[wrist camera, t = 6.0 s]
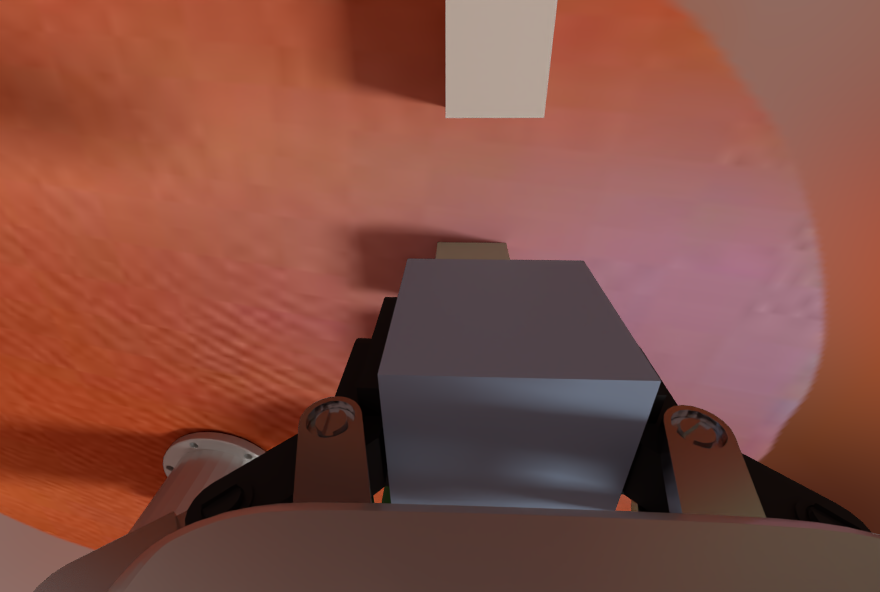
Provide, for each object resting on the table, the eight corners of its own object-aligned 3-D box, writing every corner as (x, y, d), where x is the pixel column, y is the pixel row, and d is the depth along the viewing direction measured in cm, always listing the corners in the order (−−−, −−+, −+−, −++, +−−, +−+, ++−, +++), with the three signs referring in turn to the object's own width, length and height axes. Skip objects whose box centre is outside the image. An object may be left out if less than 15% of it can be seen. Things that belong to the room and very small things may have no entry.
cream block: (529, 107, 25) (543, 117, 20) (448, 107, 25) (445, 118, 21) (539, 7, 22) (558, -5, 18) (448, 8, 22) (445, -3, 18)
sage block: (501, 300, 32) (507, 338, 28) (438, 299, 32) (434, 337, 28) (505, 242, 29) (513, 274, 25) (437, 241, 30) (433, 273, 25)
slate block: (558, 392, 14) (604, 541, 10) (413, 388, 14) (394, 533, 10) (583, 260, 11) (661, 380, 7) (407, 258, 12) (377, 374, 7)
